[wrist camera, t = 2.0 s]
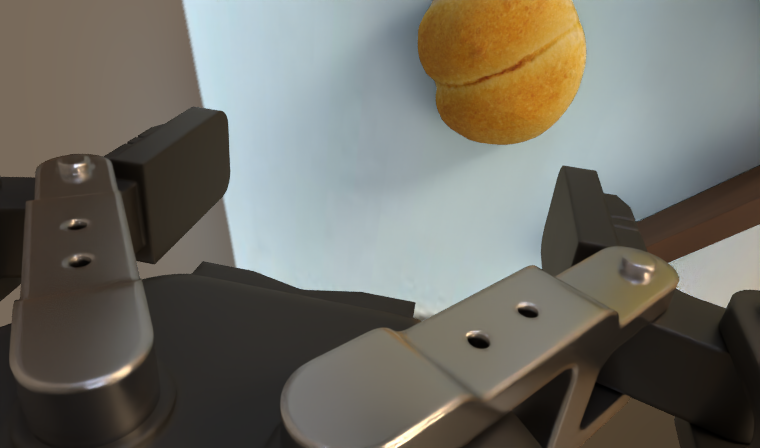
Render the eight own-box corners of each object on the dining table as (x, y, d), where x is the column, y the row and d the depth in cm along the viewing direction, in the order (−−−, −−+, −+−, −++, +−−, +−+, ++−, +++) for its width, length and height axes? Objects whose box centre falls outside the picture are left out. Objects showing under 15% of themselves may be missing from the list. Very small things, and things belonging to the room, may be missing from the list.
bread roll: (457, 150, 35) (450, 178, 31) (405, 1, 31) (391, 13, 28) (601, 108, 32) (611, 134, 29) (561, -61, 29) (567, -55, 25)
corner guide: (422, 37, 32) (414, 49, 30) (760, -205, 25) (789, -217, 22) (578, 271, 37) (583, 299, 35) (899, 128, 30) (936, 150, 27)
